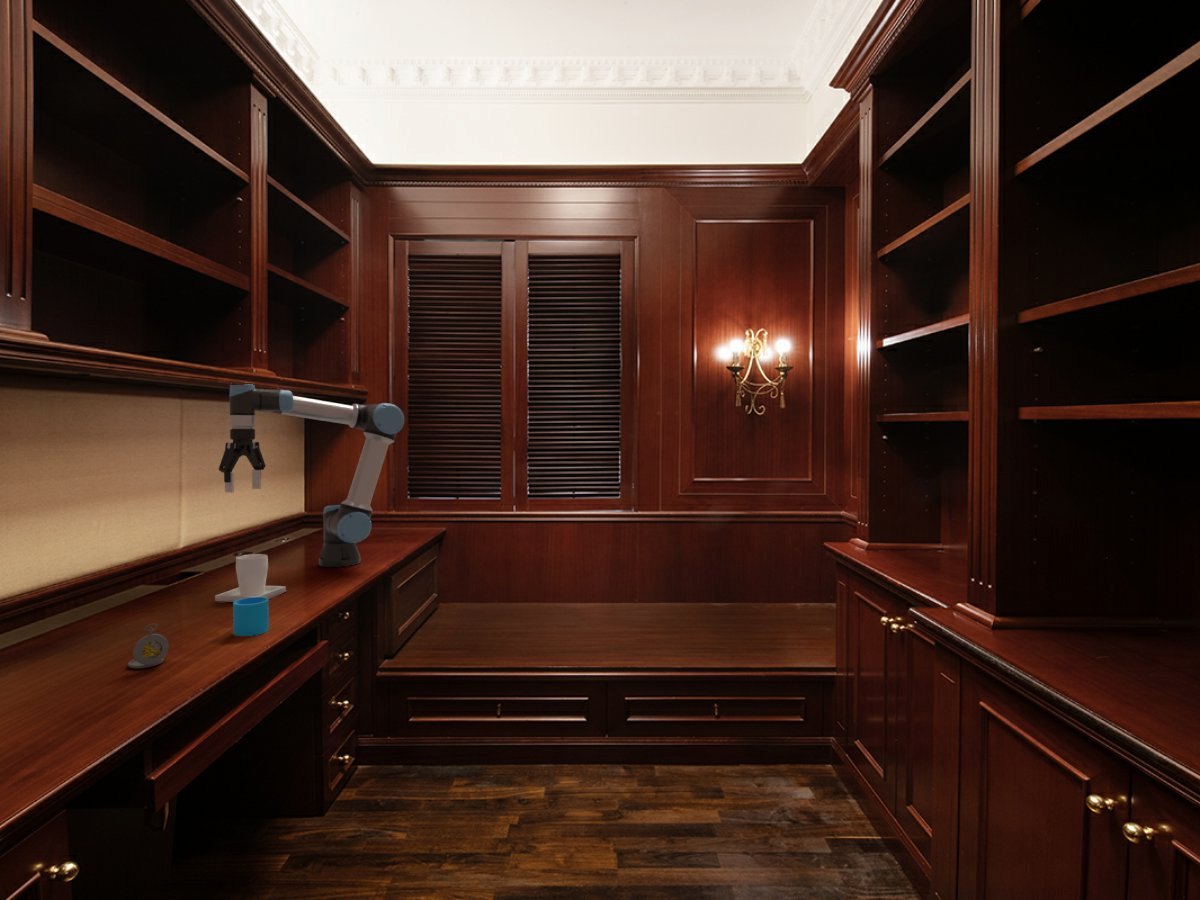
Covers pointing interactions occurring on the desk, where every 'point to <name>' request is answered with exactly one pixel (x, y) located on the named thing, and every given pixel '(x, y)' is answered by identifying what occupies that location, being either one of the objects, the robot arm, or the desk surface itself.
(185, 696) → the desk surface
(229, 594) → the tray
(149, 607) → the desk surface
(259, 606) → the mug
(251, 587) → the cup
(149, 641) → the pocket watch
